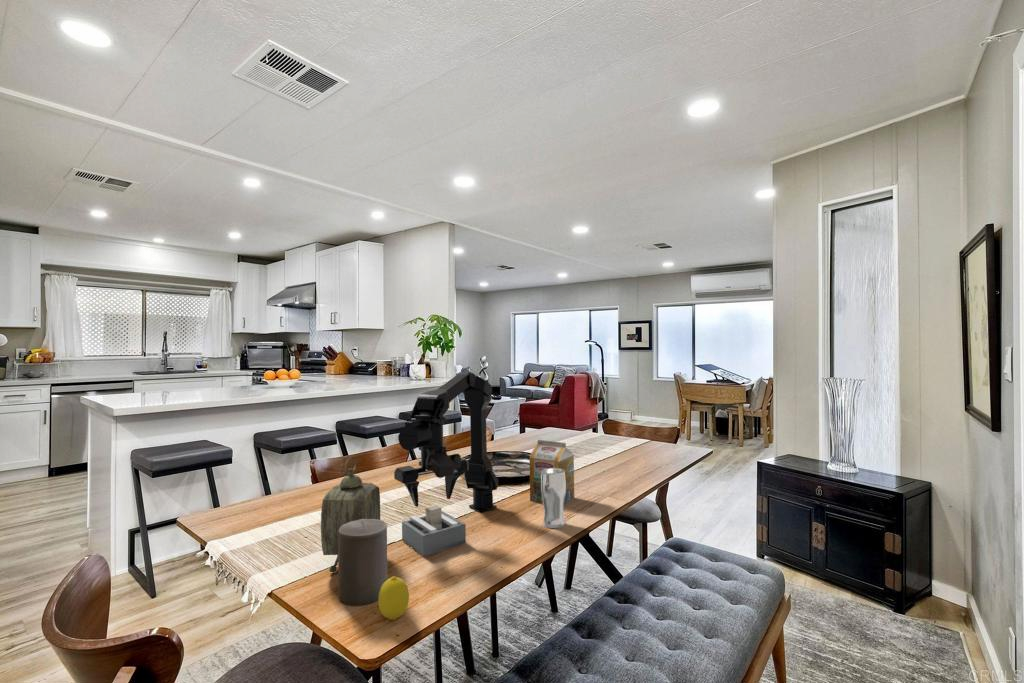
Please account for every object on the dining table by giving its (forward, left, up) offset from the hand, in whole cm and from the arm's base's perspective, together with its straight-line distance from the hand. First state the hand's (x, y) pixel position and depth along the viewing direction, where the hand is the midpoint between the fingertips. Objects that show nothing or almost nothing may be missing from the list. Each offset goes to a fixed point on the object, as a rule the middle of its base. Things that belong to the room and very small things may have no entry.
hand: (432, 502), depth 121 cm
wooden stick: (0, 0, -9) cm, 9 cm away
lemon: (+26, -22, -10) cm, 35 cm away
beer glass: (+11, +32, -10) cm, 35 cm away
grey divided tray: (0, 0, -10) cm, 10 cm away
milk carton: (-5, +46, -10) cm, 48 cm away
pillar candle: (+13, -23, -10) cm, 28 cm away
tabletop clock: (-2, -20, -10) cm, 23 cm away
